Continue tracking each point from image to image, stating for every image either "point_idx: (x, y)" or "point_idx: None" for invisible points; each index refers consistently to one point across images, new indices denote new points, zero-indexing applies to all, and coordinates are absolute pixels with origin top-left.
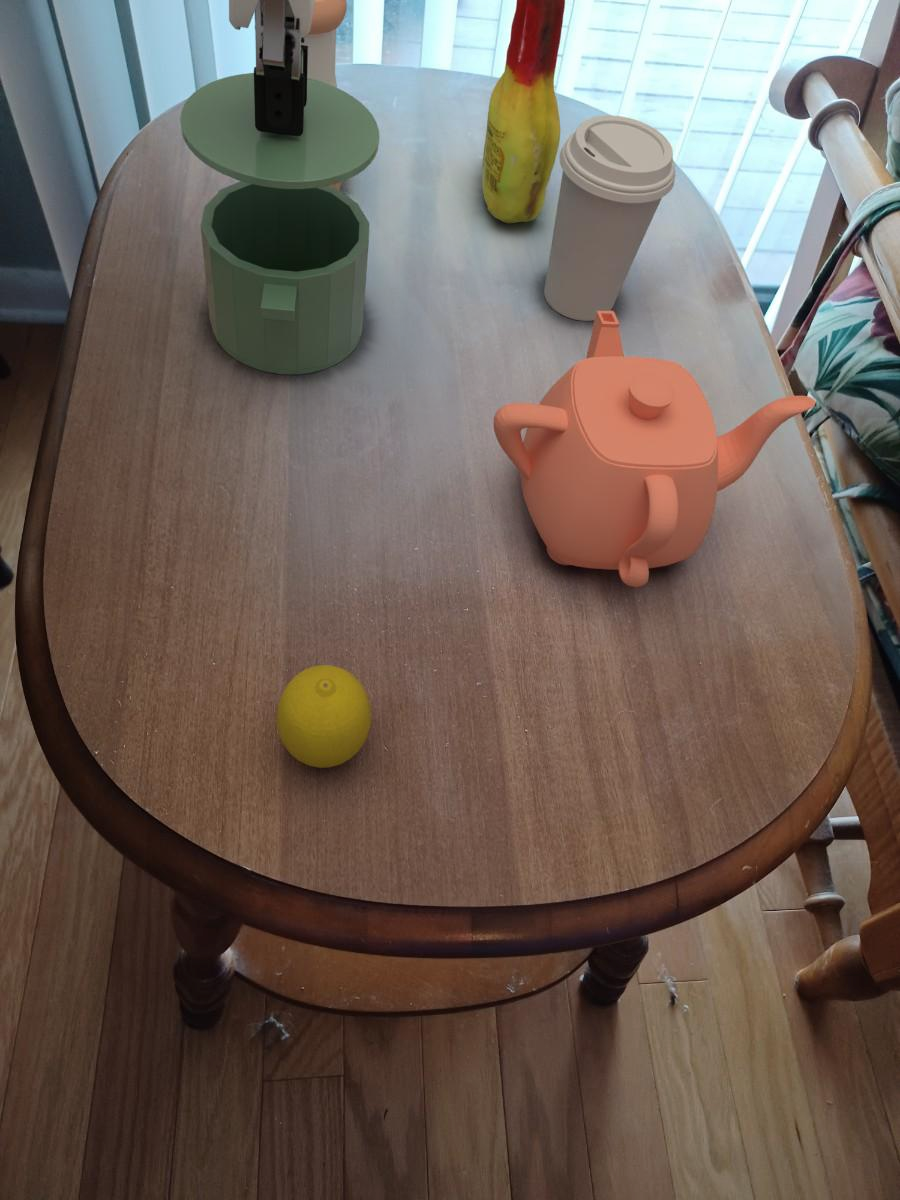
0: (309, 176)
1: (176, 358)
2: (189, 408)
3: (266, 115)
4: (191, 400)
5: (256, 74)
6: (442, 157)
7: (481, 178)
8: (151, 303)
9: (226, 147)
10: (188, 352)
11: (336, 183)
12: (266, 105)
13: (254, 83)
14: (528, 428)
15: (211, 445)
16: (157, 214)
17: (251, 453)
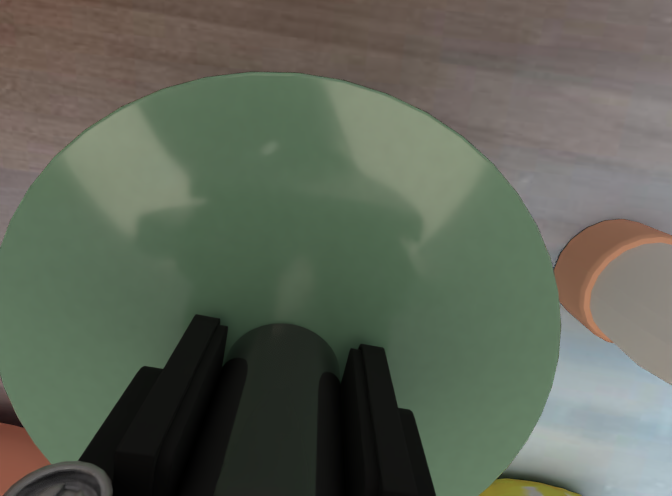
0: (32, 407)
1: (249, 46)
2: (149, 55)
3: (133, 378)
4: (164, 60)
5: (38, 470)
6: (620, 447)
7: (544, 489)
8: (371, 16)
9: (137, 210)
10: (261, 65)
11: (577, 319)
12: (120, 402)
13: (141, 409)
14: (5, 466)
15: (81, 79)
16: (584, 44)
17: (71, 131)
